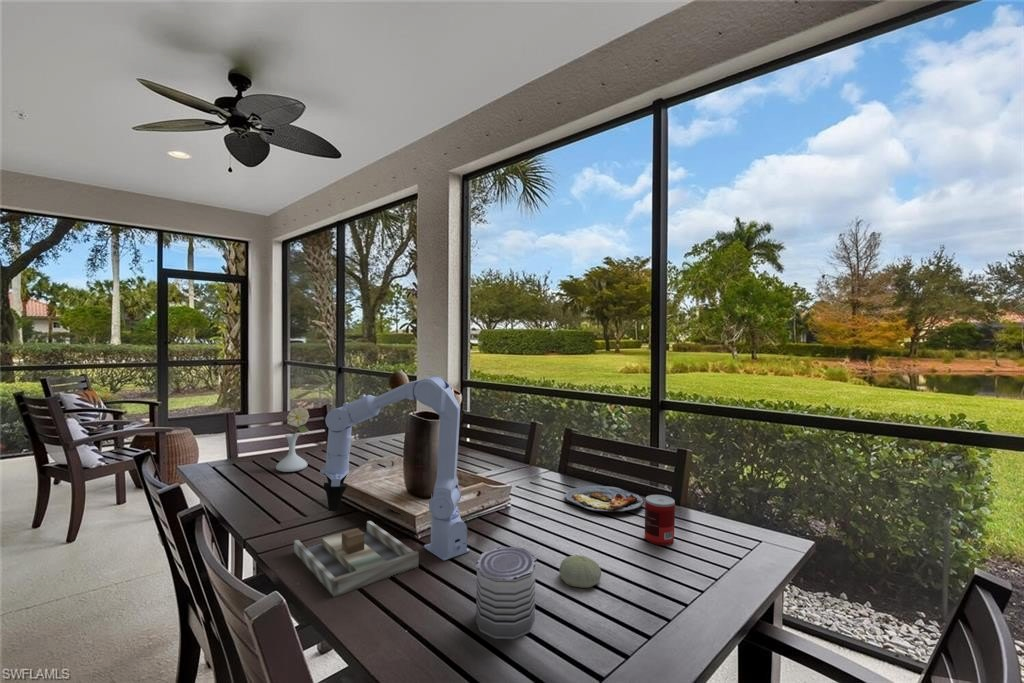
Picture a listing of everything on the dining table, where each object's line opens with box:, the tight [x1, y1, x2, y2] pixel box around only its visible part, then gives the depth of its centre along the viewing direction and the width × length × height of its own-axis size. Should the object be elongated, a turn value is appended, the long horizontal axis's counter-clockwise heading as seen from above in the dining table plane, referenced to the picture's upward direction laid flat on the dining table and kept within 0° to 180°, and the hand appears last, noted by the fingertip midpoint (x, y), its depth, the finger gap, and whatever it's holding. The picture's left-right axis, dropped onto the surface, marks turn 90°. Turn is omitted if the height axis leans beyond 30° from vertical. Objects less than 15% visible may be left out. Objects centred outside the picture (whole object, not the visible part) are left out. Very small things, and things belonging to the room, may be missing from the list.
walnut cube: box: [341, 527, 364, 554], centre depth 116 cm, size 4×4×4 cm
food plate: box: [565, 485, 645, 513], centre depth 157 cm, size 25×23×4 cm
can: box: [474, 545, 538, 640], centre depth 91 cm, size 11×11×12 cm
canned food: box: [644, 494, 676, 546], centre depth 129 cm, size 8×8×11 cm
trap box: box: [293, 520, 420, 598], centre depth 115 cm, size 26×20×3 cm
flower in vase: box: [275, 406, 310, 473], centre depth 187 cm, size 13×11×25 cm
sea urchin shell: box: [558, 554, 602, 589], centre depth 107 cm, size 9×8×8 cm
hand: (333, 504), depth 124 cm, fingers open, 7 cm apart
